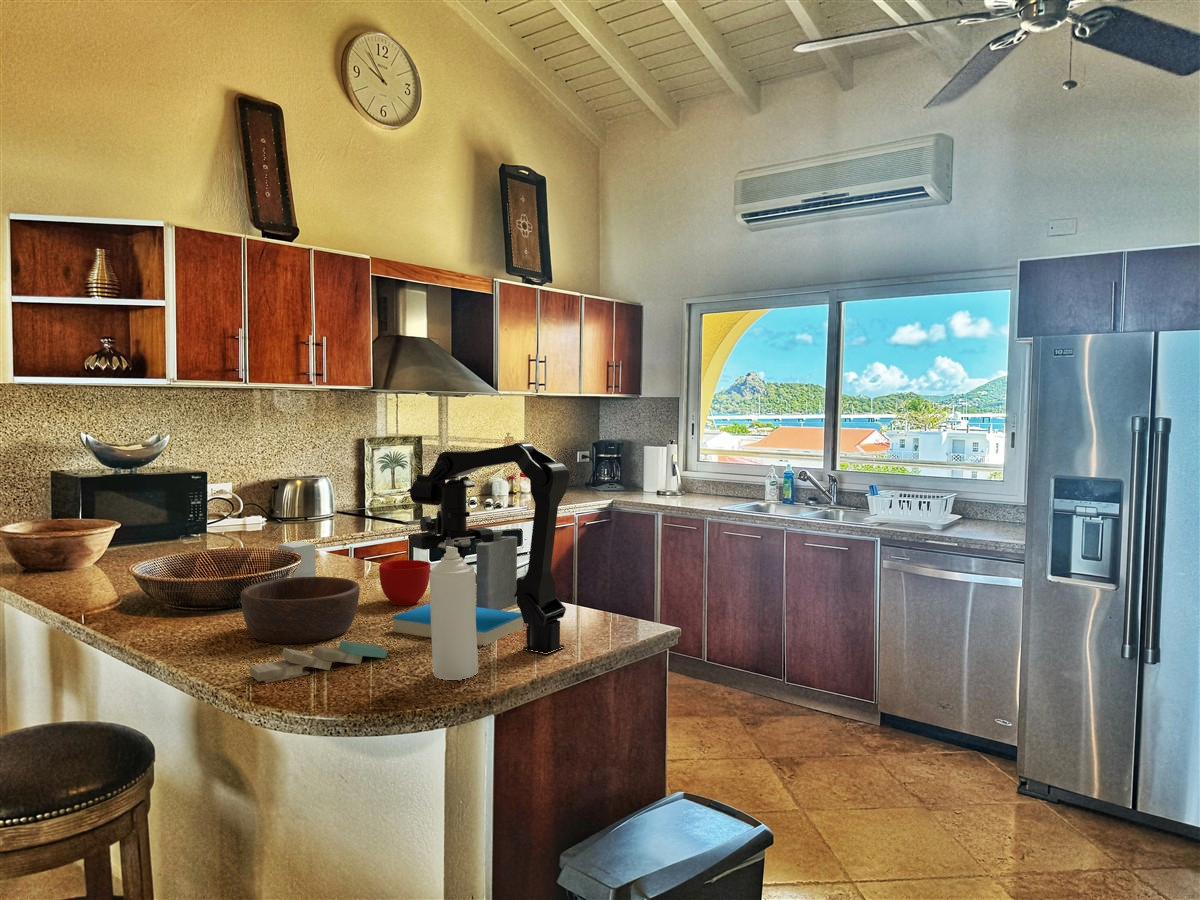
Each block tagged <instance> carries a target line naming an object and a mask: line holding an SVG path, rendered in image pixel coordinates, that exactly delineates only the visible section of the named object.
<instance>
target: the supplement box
mask: <svg viewBox="0 0 1200 900" xmlns="http://www.w3.org/2000/svg"><path fill="white" fill-rule="evenodd" d="M278 550H279V551H288V552H293V553H298V554H299V555H300V556H301V562H300V564H299V566H298V568H297V569H296V571H295V573H294V574H293V576H292V578H295V577H317V575H316V574H317V573H316V571H317V570H316V569H317V565H316V564H317V563H316V561H317V559H316V557H317V555H316V553H317V552H316V544H315V543H312V542H307V541H302V540H299V541H294V542H293V541H292V542H286V543H279V544H277V551H278Z"/></svg>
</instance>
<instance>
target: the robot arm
mask: <svg viewBox="0 0 1200 900" xmlns="http://www.w3.org/2000/svg"><path fill="white" fill-rule="evenodd" d="M511 463H515V464H516V465H517V467H518V468H519V469H520V471H521V473H522V474H523V475H524V476H525V477H526V478H527V479H528V480H529V483H530V494H531V496H532V499H533V502H534V514H533V523H532V531H531V541H530V549H529V557H528V559H529V560H528V568H527V571H526V573H525V575H523V576H520V577H517V581H516V587H517V588H516V593H515V595H514V597H517V599H516V600H517V604H516V606H517V608H519V610H520V613H521V614H522V617H523V621H524V624H527V625H526V630H525V631H526V632H525V633H526V637H525V638H526V642H525V643H526V646H522V650H523V649H527V650H533V651H538V652H543V653H548V652H551V651H553V650H556V649H559V648H561V647H564V648H565V645H563V644H561V620H559V619H563V618H564V616H565V613H566V611H567V608H566V606H564V604H563V603H562V602H561V600H560V599H559V598H558V597H557V595H556V593H557V592H556V582H555V580H554V576H553V575H552V565H553V564H552V563H553V554H554V546H555V537H556V529H557V528H556V526H557V519H558V511H559V505H560V503H561V502H562V499H563V498H564V496H565V494H566V493H567V489H568V485H569V481H570V478H571V477H570V471H569V469H568V468H567V466H566V465H565V464H563V463H562V462H559V461H556V460H555V459H554V458H553V457H551V456H550V455H548V454H546V453H544V452H542V451H540V450H539V449H538V448H537V447H536V446H535V445H533V444H531V443H530V442H516V443H513V444H511V445H510V444H509V445H505V446H500V447H499V446H498V447H494V448H488V449H482V450H477V451H474V450H452V451H449V450H448V451H443V452H441V453H439V454H438V456H437V458H436V462H435V464H434V466H433V467H432V468H431V470H430V472H429V474H417V475H416V479H415V481H414V482H413V483H412V484H411V488H410V490H409V496H410V499H411V501H412V503H414V504H417V505H426V506H427V505H428V506H439V505H440V510H437V512H436V518H432V517H431V516H430V515H428V516H427V515H426V516H421V517H420V522H419V527H420V528H419V529H420V531H421V532H420V533H413V534H412V536H411V537H410V539H409V540H410V542H409V543H410V544H409V545H410V547H411V548H415V549H418V550H419V549H420V550H422V551H423V550H424V551H425V550H426V551H427V550H436V549H437V550H438V551H439V552H440V554H441V555H442V558H443V557H444V554H446V546H450V547H455V548H458V553H459V554H460V557H462V558H463V561H464V559H465V558H466V556H467V555H468V553H469V551H470V550H471V549H473V548H474V545H473V544H471V541H474V540H480V541H481V542H483V543H486V542H494V532H493V531H492V530H493V529H492V528H488V527H487V528H486V527H483V526H479V527H478V526H477V527H471V528H468V529H467V518H468V517H470V515H471V513H470V511H467V499H468V498H467V497H468V496H467V495H468V494H467V489H470V488H475V487H476V484H475V483H474V482H473V481H472V480H471V479H470V478H469V476H467V475H470V474H472V473H475V472H476V471H478V470H479V469H482V468H487V467H493V466H498V465H500V466H501V465H505V464H511ZM459 477H460V478H459ZM458 478H459V479H458ZM527 650H526V651H527Z"/></svg>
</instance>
